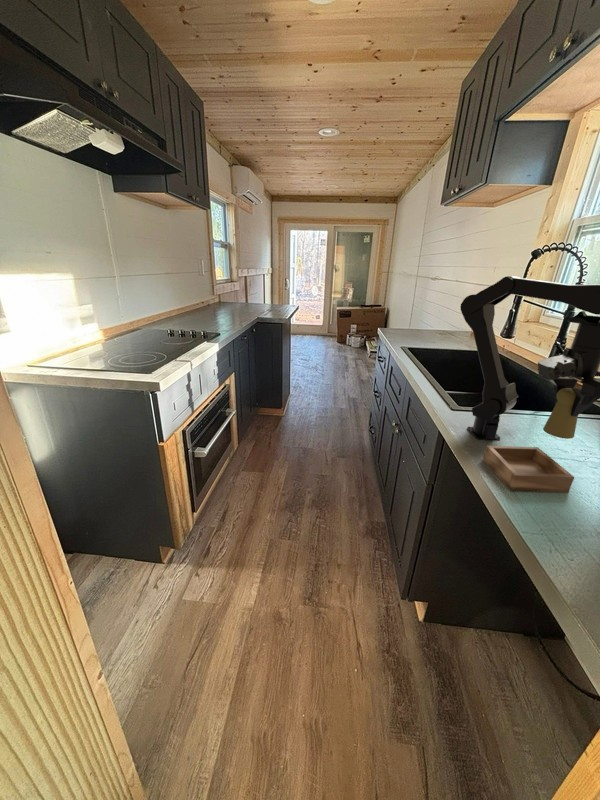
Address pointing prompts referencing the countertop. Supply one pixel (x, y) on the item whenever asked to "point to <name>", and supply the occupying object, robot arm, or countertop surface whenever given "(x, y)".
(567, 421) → the cork
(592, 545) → the countertop surface
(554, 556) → the countertop surface
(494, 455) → the box
